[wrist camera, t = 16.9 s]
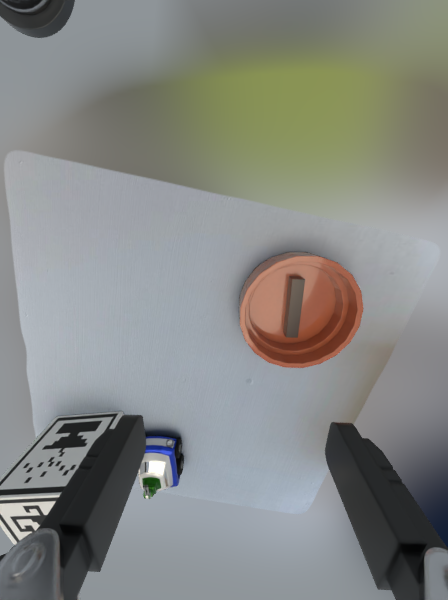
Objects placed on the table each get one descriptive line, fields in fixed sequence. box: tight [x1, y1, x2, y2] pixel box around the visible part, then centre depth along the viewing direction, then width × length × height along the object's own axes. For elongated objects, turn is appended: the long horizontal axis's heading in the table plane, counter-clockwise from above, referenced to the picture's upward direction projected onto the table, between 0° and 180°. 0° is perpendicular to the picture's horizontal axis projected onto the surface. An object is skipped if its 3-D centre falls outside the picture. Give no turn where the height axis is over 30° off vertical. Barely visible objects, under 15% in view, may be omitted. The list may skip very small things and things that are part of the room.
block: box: [0, 411, 124, 545], centre depth 41 cm, size 15×15×15 cm
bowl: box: [239, 252, 363, 368], centre depth 34 cm, size 18×18×6 cm
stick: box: [283, 276, 305, 338], centre depth 35 cm, size 2×10×2 cm, turn 0°
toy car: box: [138, 436, 184, 499], centre depth 44 cm, size 9×12×10 cm
